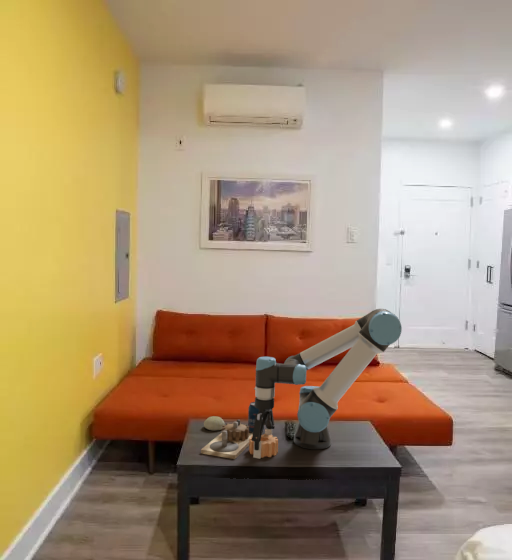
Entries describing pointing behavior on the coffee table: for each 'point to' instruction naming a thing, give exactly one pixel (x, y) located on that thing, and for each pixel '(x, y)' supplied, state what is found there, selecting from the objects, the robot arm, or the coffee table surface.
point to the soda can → (252, 416)
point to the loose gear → (265, 445)
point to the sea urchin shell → (214, 423)
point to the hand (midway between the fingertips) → (262, 451)
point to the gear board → (229, 441)
